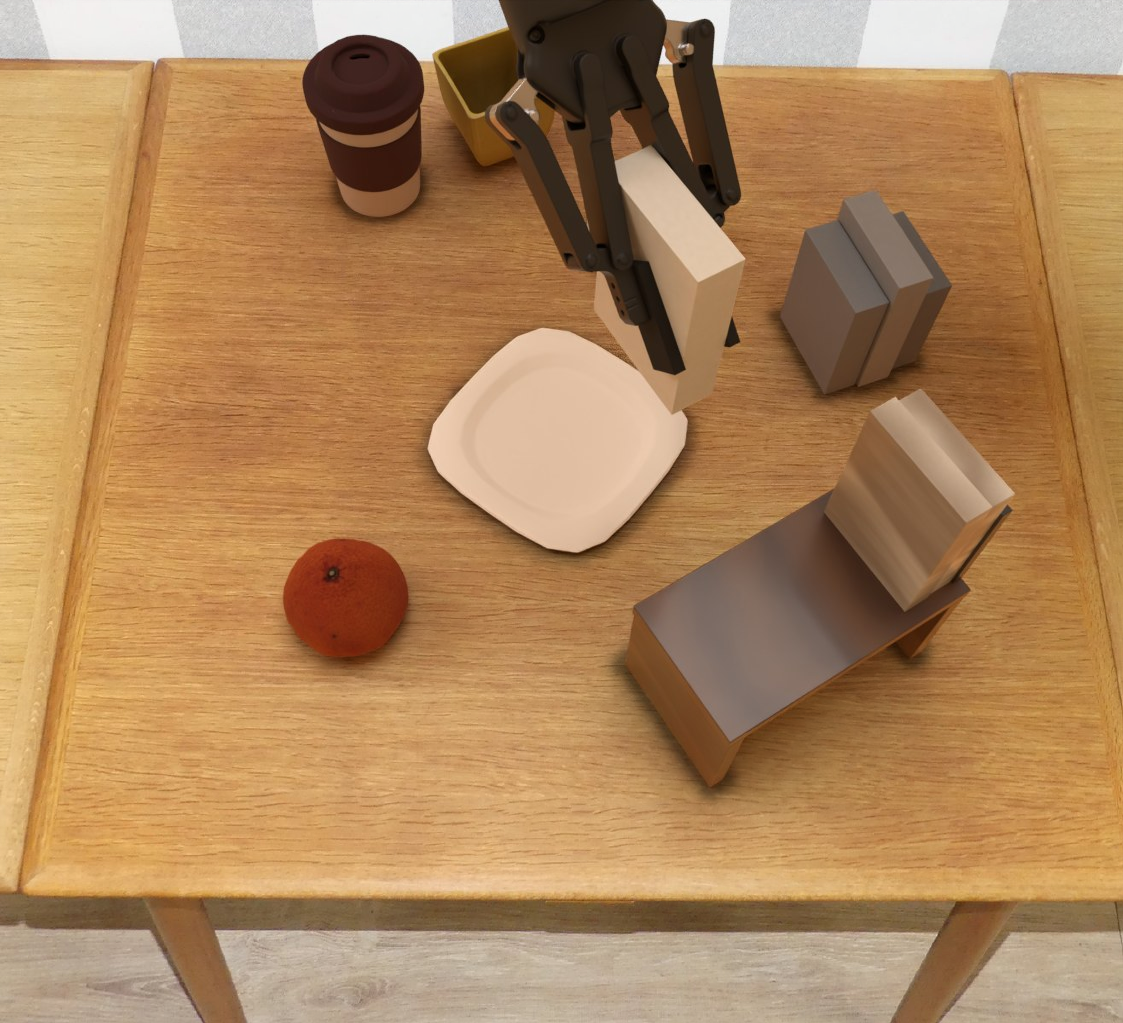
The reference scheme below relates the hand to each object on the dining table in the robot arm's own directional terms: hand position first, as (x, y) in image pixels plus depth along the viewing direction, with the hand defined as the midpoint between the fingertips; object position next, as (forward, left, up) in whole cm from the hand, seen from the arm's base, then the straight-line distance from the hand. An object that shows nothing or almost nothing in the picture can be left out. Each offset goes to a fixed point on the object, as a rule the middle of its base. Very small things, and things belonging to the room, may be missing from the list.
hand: (696, 355), depth 70 cm
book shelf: (-9, +7, -29) cm, 31 cm away
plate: (+9, -10, -29) cm, 32 cm away
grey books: (-15, -23, -29) cm, 39 cm away
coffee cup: (+28, -35, -29) cm, 53 cm away
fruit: (+23, +7, -29) cm, 37 cm away
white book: (+2, -3, -5) cm, 6 cm away
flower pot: (+18, -42, -29) cm, 54 cm away
